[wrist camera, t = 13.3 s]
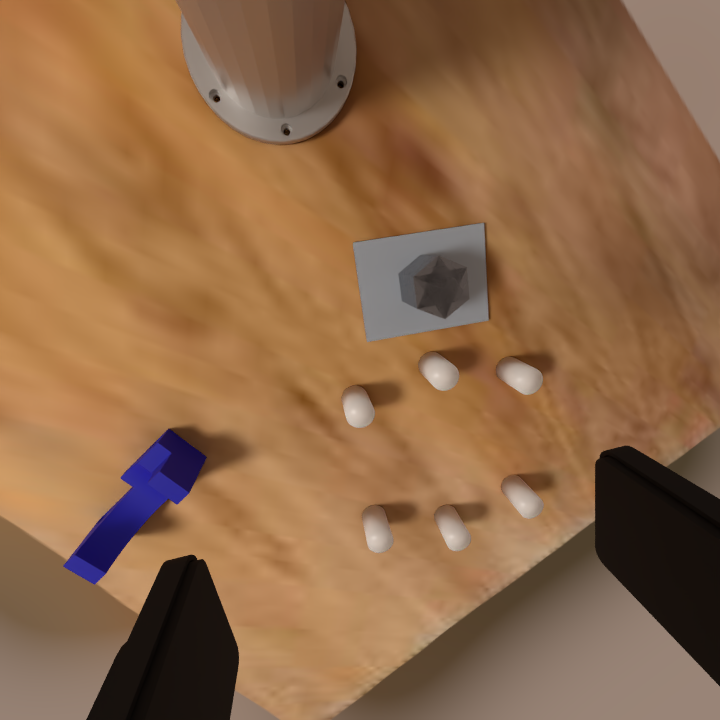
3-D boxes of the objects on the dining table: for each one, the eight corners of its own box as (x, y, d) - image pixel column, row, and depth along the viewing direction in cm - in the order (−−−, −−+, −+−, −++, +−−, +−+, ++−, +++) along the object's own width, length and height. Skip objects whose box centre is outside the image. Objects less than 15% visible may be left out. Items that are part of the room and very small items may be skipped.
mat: (352, 242, 34) (353, 242, 33) (482, 223, 35) (484, 222, 34) (366, 340, 36) (367, 341, 36) (486, 319, 37) (488, 320, 37)
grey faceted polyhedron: (396, 259, 34) (411, 260, 29) (443, 250, 34) (465, 250, 30) (403, 314, 36) (418, 324, 31) (448, 306, 36) (470, 314, 31)
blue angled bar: (169, 427, 36) (143, 460, 30) (207, 456, 37) (189, 492, 32) (86, 510, 37) (46, 556, 31) (126, 535, 38) (94, 584, 33)
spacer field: (336, 368, 36) (339, 382, 33) (518, 335, 38) (542, 344, 34) (366, 542, 42) (372, 571, 39) (523, 506, 44) (543, 531, 40)
